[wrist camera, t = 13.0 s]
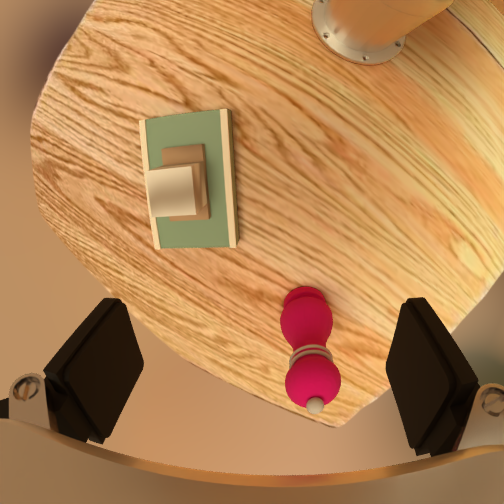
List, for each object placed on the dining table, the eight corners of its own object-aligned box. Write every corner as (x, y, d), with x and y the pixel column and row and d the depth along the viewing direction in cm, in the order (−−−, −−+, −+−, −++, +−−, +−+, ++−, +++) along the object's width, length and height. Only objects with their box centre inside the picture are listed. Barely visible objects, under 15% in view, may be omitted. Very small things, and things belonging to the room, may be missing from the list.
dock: (149, 120, 35) (139, 120, 32) (231, 110, 34) (226, 108, 31) (163, 240, 42) (155, 249, 39) (239, 238, 41) (236, 247, 38)
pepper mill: (328, 281, 42) (356, 385, 24) (328, 321, 45) (348, 427, 26) (278, 284, 43) (276, 392, 24) (281, 325, 46) (280, 433, 27)
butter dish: (164, 148, 34) (143, 152, 28) (204, 143, 33) (189, 146, 27) (173, 218, 37) (154, 235, 31) (211, 216, 37) (198, 233, 31)
